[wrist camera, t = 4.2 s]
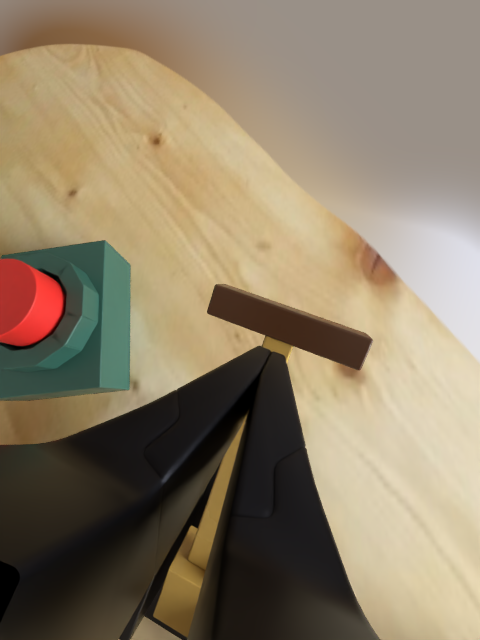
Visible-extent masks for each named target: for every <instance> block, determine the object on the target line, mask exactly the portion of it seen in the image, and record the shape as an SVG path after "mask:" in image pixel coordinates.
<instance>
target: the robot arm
mask: <svg viewBox="0 0 480 640" xmlns="http://www.w3.org/2000/svg"><path fill="white" fill-rule="evenodd" d="M246 416H247V417H246ZM245 418H246V421H245V424H244V427H243V431H242V435H241V439H240V442H239V446H238V450H237V454H236V457H235V461H234V465H233V469H232V473H231V476H230V480H229V484H228V488H227V491H226V495H225V499H224V503H223V506H222V510H221V514H220V518H219V521H218V525H217V529H216V533H215V536H214V540H213V544H212V548H211V551H210V555H209V559H208V563H207V566H206V570H205V574H204V578H203V582H202V585H201V589H200V593H199V597H198V602H197V604H196V608H195V612H194V615H193V619H192V623H191V627H190V630H189V634H188V638H187V640H380V639H379V637H378V636H377V635H376V633H375V632H374V630H373V628H372V627H371V625H370V624H369V622H368V620H367V618H366V617H365V615H364V613H363V611H362V609H361V607H360V605H359V603H358V601H357V599H356V597H355V594H354V592H353V590H352V588H351V585H350V582H349V579H348V577H347V574H346V571H345V568H344V566H343V563H342V560H341V557H340V554H339V552H338V549H337V546H336V543H335V540H334V537H333V535H332V532H331V529H330V526H329V523H328V521H327V518H326V515H325V512H324V509H323V506H322V503H321V500H320V497H319V494H318V491H317V488H316V485H315V482H314V478H313V474H312V470H311V466H310V463H309V458H308V454H307V449H306V448H305V441H304V437H303V433H302V428H301V424H300V419H299V415H298V411H297V406H296V402H295V397H294V393H293V389H292V384H291V380H290V375H289V371H288V367H287V362H286V358H285V356H284V355H282V354H280V353H277V352H274V351H273V352H271V351H270V350H269V349H267V348H264V347H261V346H257V347H255V348H253V349H251V350H250V351H248V352H246V353H244V354H242V355H240V356H238V357H236V358H235V359H233V360H231V361H229V362H227V363H225V364H223V365H221V366H220V367H218V368H216V369H214V370H212V371H210V372H208V373H206V374H205V375H203V376H201V377H199V378H197V379H195V380H193V381H191V382H190V383H188V384H186V385H184V386H182V387H180V388H178V389H177V390H174V391H172V392H171V393H169V394H167V395H165V396H163V397H161V398H159V399H157V400H155V401H153V402H151V403H149V404H147V405H145V406H142V407H140V408H138V409H135V410H133V411H131V412H128V413H126V414H123V415H121V416H119V417H116V418H114V419H111V420H109V421H106V422H104V423H101V424H99V425H96V426H94V427H91V428H89V429H86V430H84V431H81V432H79V433H76V434H74V435H71V436H68V437H66V438H62V439H59V440H55V441H51V442H46V443H40V444H26V445H0V640H118V639H119V638H120V636H121V634H122V632H123V631H124V629H125V627H126V625H127V624H128V622H129V620H130V619H131V617H132V615H133V613H134V612H135V610H136V608H137V606H138V605H139V603H140V601H141V599H142V598H143V596H144V594H145V593H146V591H147V589H148V587H149V586H150V584H151V582H152V580H153V579H154V576H155V575H156V573H157V572H158V570H159V568H160V566H161V565H162V563H163V561H164V559H165V558H166V556H167V554H168V552H169V551H170V549H171V547H172V546H173V544H174V542H175V540H176V539H177V537H178V535H179V533H180V532H181V530H182V528H183V526H184V525H185V523H186V521H187V520H188V518H189V516H190V514H191V513H192V511H193V509H194V507H195V506H196V504H197V502H198V500H199V499H200V497H201V495H202V494H203V492H204V490H205V488H206V487H207V485H208V483H209V481H210V480H211V478H212V476H213V474H214V473H215V471H216V469H217V467H218V466H219V464H220V462H221V461H222V459H223V457H224V455H225V454H226V452H227V450H228V448H229V447H230V445H231V443H232V441H233V440H234V438H235V436H236V435H237V433H238V431H239V429H240V428H241V426H242V424H243V422H244V420H245Z"/></svg>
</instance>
